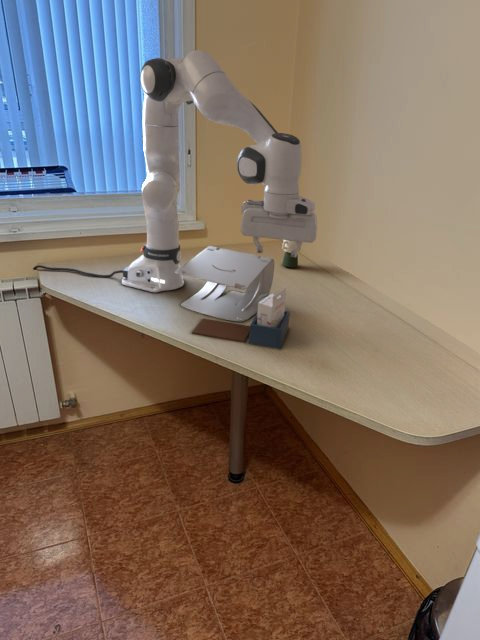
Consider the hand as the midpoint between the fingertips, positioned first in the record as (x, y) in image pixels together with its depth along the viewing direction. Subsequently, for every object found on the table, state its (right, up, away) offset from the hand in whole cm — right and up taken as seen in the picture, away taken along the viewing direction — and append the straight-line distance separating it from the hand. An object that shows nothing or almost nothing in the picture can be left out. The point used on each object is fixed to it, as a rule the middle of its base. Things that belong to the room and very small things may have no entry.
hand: (276, 254), depth 132 cm
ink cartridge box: (-1, -22, +12) cm, 25 cm away
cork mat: (-15, -20, +14) cm, 29 cm away
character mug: (+12, +8, +66) cm, 68 cm away
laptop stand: (-14, -10, +32) cm, 36 cm away
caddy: (-1, -22, +12) cm, 25 cm away
